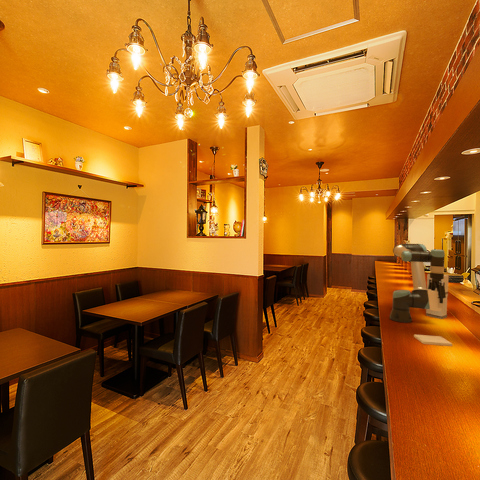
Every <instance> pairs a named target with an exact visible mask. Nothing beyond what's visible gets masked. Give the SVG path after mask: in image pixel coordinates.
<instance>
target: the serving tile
mask: <svg viewBox="0 0 480 480" xmlns="http://www.w3.org/2000/svg"><path fill="white" fill-rule="evenodd" d="M413 338H415V339H416V340H418V342H420V343H422V344H424V345H430V346H431V345H433V346H434V345H435V346H445V347H453V343H452V342H451V341H448V340H447V339H446V338H444V337H443V336H441V335H428V334H426V335H425V334H413Z"/></svg>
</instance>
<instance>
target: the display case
mask: <svg viewBox="0 0 480 480" xmlns="http://www.w3.org/2000/svg"><path fill="white" fill-rule="evenodd" d="M426 276H427V277H426V289H427V290H428V286H429V279H432V278H430V273H427V275H426ZM441 281H442V282H444V283H445V295H446V298H444V300H443V308H442V310H441V311H433V310H430V309H425V316H426V317H430V318H435V319H438V320H439V319H440V320H444V319H446V318H447V317H448V314H447V313H448V312H447V311H448V309H447V308H448V296H449V274H444V279H441ZM435 290H437V288H436V289H435Z"/></svg>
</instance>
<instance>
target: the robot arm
mask: <svg viewBox="0 0 480 480" xmlns="http://www.w3.org/2000/svg"><path fill="white" fill-rule="evenodd" d="M392 252H393V255H394V256H396V257H398V258H400V259H401V260H402V261H403V262H408V263H409V262H410V268H411V276H412V286H413V289H412V290H411V291H410V290H408V289H397V290H394V291H393V292H392V309H391V311H390V313H389V319H390V320H392V321H393V322H398V323H405V324H407V323H412V321H413V317H412V315H411V312H410V310H411V308H412V309H422V310H426V309H430V306H429V298H428V290H427V280H426V274H425V268H424V267H425V266H424V263H430V265H429V266H430V267H429V272H430V273H429V274H430V278H432V279H429V286H428V289H431V290H432V291H434V290H435V289H436V288H437V292H438V296H439V297H438V308H443V298H446V295H445V283H444V282H442V281H441V279H444V275H445V256H446V254H445V250H444V249H435V248H434V249H431V250H430V251H428V250H427V247H426V245H424V244H422V243H399V244H396V245H395V246H394V247H393V248H392Z"/></svg>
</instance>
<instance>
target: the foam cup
mask: <svg viewBox="0 0 480 480" xmlns="http://www.w3.org/2000/svg"><path fill="white" fill-rule="evenodd" d="M438 297H439V296H438V292H437V290H434V291H432V290H431V289H428V298H429V306H430V310H433V311H441V310H442V308H438ZM443 300H444V298H443Z"/></svg>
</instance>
